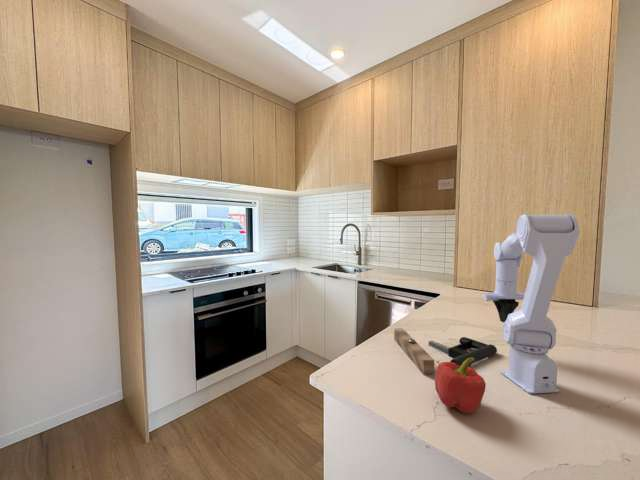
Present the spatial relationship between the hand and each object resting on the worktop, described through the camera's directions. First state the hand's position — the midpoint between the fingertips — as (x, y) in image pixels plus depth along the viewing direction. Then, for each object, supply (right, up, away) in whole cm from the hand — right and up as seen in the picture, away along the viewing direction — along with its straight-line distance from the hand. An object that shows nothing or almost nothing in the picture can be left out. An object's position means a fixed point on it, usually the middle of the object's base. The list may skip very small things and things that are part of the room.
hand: (504, 321), depth 86 cm
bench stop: (-31, -10, -2) cm, 32 cm away
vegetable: (-28, -11, -25) cm, 39 cm away
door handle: (-15, -10, -1) cm, 19 cm away
